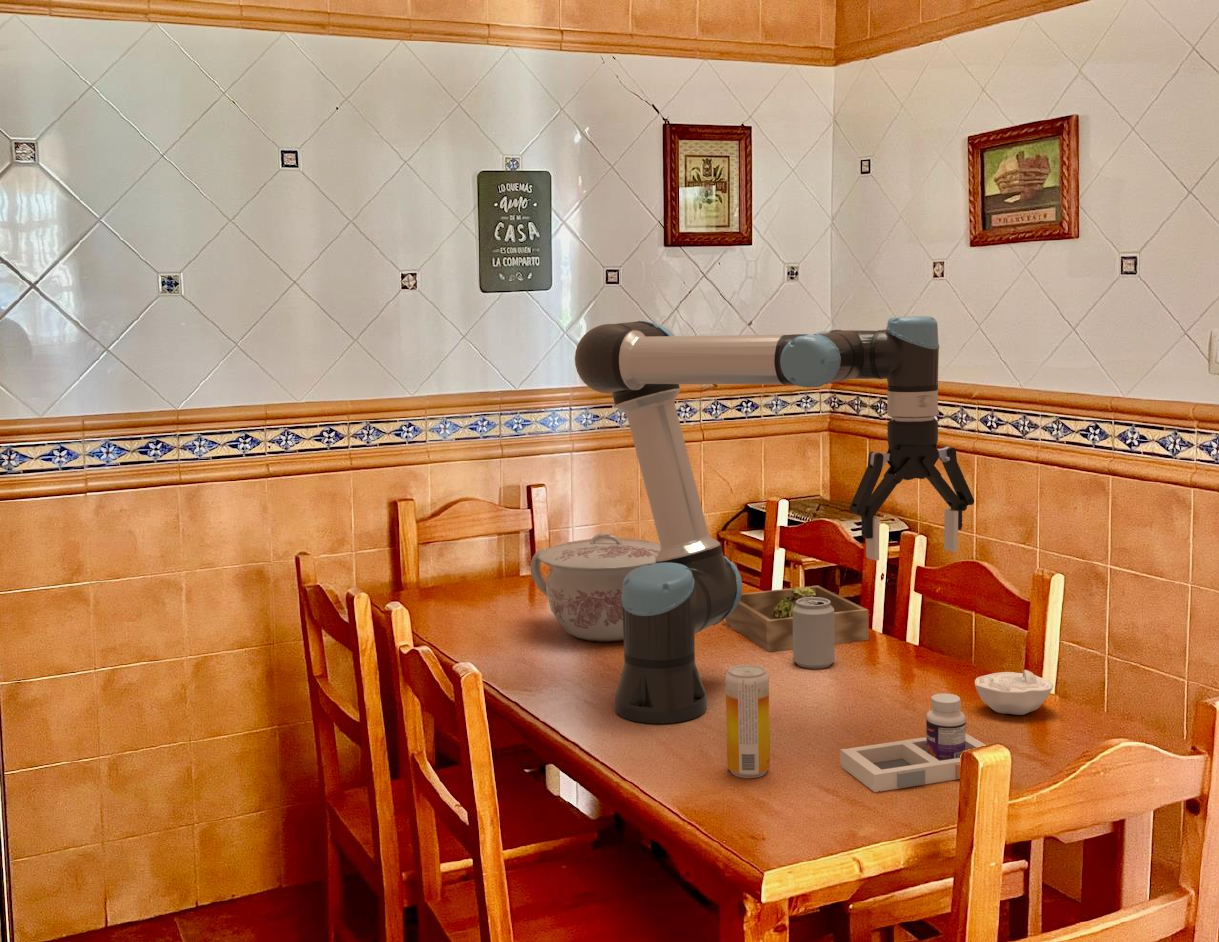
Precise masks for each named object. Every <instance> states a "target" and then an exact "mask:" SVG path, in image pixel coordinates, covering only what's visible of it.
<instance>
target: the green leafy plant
mask: <svg viewBox="0 0 1219 942" xmlns="http://www.w3.org/2000/svg"><path fill="white" fill-rule="evenodd" d="M801 587H803V588H801ZM804 587H805V588H804ZM791 591H792V593H793V597H792V596H791V597H785V599H783V598H782V599H781V601H780V602H779V601H778V602H779V603H778V605H777V606H776V607H775V608H774V609H772V608H771V609H772V610H773V615H772V616H773V617H774V619H780V618H789V617H793V608H794V607H795V606H796V604H797V603H796V601H797V600H798V599H800V598H806V597H813V596H815V595H816V593H815V592H814V591H813V589H810V587H809V586H797V585H795V587H792V590H791Z"/></svg>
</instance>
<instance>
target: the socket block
mask: <svg viewBox="0 0 1219 942" xmlns="http://www.w3.org/2000/svg"><path fill="white" fill-rule="evenodd" d="M986 745H987V744H985V743H983V742H981V741H980V740H978V739H977V738H974V737H973V736H971V735H970V734H968V733H966V734H965V750H968V749H973V748H977V747H981V746H986ZM840 767H841V768H842V769H843V770H845V771H846V772H847V773H849V774H850V775H851V776H852V777H854V778H855V779H856V780H858V781H859V782H861V784H863V785H864V786H866V787H867V788H868V789H869V790H871V791H872V792H873V793H879V791H880V792H885V791H891V790H897V789H905V788H910V787H916V786H918V787H919V786H922V785H923V786H924V785H929V784H936V783H941V782H949V781H954V780H955V781H956V780H961V779H960V758H955V759H948V760H942V761H939V760H938V759H936V758H935V757H933V756H931V755H930V754H928V753H927V752H926V736H924V737H917V738H912V739H905V740H898V741H897V740H895V741H890V742H885V743H878V744H870V745H863V746H862V745H861V746H858V747H857V746H856V747H850V748H843V749H842V748H841V749H840Z"/></svg>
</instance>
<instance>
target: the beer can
mask: <svg viewBox="0 0 1219 942" xmlns="http://www.w3.org/2000/svg"><path fill="white" fill-rule="evenodd" d="M724 680H725V714H726V716H725V718H726V719H725V720H726V721H725V722H726V724H725V725H726V730H725V731H726V762H727V763H726V767H727V769H728V770H730V772H731V774H732V775H734V776H735V777H738V778H741V779H742V778H743V779H754V778H755V779H757V778H760V777H763V776H765V775H766V773H767V771H769V769H770V767H771V749H770V746H771V745H770V744H771V741H770V740H771V739H770V735H771V734H770V683H769V680H770V679H769V675H768V674H767V671H766V668H765V667H763V666H761V665H758V664H757V665H756V664H738V665H734V666H733V665H732V666H730V667H729V668H728V670H727V674H726V675H725V679H724Z"/></svg>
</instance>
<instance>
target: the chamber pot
mask: <svg viewBox="0 0 1219 942" xmlns="http://www.w3.org/2000/svg"><path fill="white" fill-rule="evenodd" d="M660 550H661V545H660V542H655V541H652V540H648V539H647V540H646V539H639V538H627V537H626V538H625V537H624V538H623V537H617V536H615V535H614V534H611V533H606V532H605V533H598V534H595V535H594V536H593V537H592V538H588V539H580V540H574V541H567V542H564V543H559V544H557V545H554V546H551V547H548V548H546V547H543V548H540V549H539V550H538V551H536V552H535V553H534V554H533V556H532V559H531V561H530V570H529V571H530V574H531V578H532V580H533V582H534V583H535V585H536V586H537V587H538V589H539V591H540V592H541V593H543V594H544V595H545V596H546V597H547V599H548V600H547V601H548V603H549V607H550V611H551V613H552V614H553V615H554V617H555V619H556V620H557V621H558V623H559V624H560V626H561V627H562V629H563V630H564V631H565V632H566V633H567V634H568V635H570V636H572V637H575V638H578V639H581V640H584V641H589V642H596V643H611V642H612V643H614V642H624V634H623V609H622V602H621V596H622V591H623V581H624V578H625V577H626V575H627V574H628V573H629V572H631V571H632V570H634V569H636V568H639V567H641V566H644V565H652V564H654V563H656V561H655V559H656V557H657V555H658V553H659V552H660ZM541 562H542V563H543V565H547V566H550V570H549V573H548V574H547V576H546V580H545V578H544V577H543V573H542V571H541Z"/></svg>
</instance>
